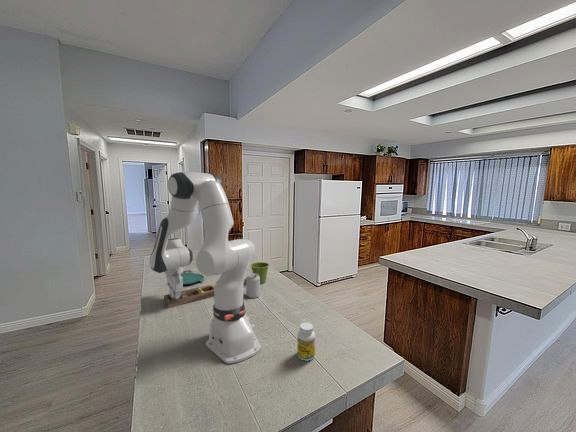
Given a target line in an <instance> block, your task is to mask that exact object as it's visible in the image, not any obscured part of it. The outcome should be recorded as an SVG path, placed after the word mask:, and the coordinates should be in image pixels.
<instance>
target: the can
mask: <svg viewBox="0 0 576 432" xmlns="http://www.w3.org/2000/svg"><path fill="white" fill-rule="evenodd" d="M246 275H247V277H245V279H246V281H245V287H246V289H245V290H246V291H245V294H246V296H247V297H248V298H249V299H256V298H258V297H259V296H260V294H261V283H260V277H259V275H258V274H256V273H253V272H252V273H251V272H250V273H249V274H246Z"/></svg>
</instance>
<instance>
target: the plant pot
mask: <svg viewBox="0 0 576 432" xmlns="http://www.w3.org/2000/svg"><path fill="white" fill-rule="evenodd" d="M249 267H251V272H252V273H256V274H258V275H259V277H260V284H266V282H267V274H268V270H269V267H270V263H268V262H263V261H259V262H252V263H250V265H249Z"/></svg>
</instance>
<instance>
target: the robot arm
mask: <svg viewBox="0 0 576 432" xmlns="http://www.w3.org/2000/svg"><path fill="white" fill-rule="evenodd" d="M167 187H168V188H167V189H168V192H169V193H170V195H171V199H170V200H171V201H170V209H169V212H168V213H167V215H166V217H164V218H163V219H161V221H160V224H159V227H158V231H157V233H156V234H157V235H156V238H155V242H154V247H153V250H152V252H151V254H150V258H149V266H150V269H151V270H152V271H153V272H156V273H158V274H161V273H164V275H166V280H167V282H168V284H169V286H171V287H172V289H173V290H174V292H175V298H176V299H177V298H179V294H180V292H182V291H184V285H183V282H182V277H181V276H180V275H181V273H182V274H183V271H184V267H187V266H190V265H191V264H192V262H193V260H194V259H193V257H194V255H193V251H192V250H191V248H189V247H187V246H185V245H184V244H183V241H182V238H180V237H179V238H178V237H174V238H170V237H171V235H173V234H174V233H175V232H178V231H179V230H181V229H182V230H183V228H186V227H189V226H190V225H191V224H193V223H194V222H195V220H196V217H197V212H198V206H199V210H200V214H201V217H202V222H203V227H204V240H203V244H202V247H201V248H200V250H199V251H198V253H197V254H196V258H195V265H196V267H197V271H199V273H200V274H201V275H203V276H206V277H210V276H211V277H212V276H218V275H220V276H219V278H218V279H217V280H216V282H215V284H214V297H213V300H214V302H213V306H212V307H213V308H212V312H213V313H212V315H213V317H212V319H211V321H210V323H209V334H208V335H209V337H208V339H207V340H206V341H205V347H206V348H207V349H209V350H210V351H211V352H212V353H213V354H215V355H216V356H217V357H218V358H219V359H220V360H222V361H223V362H224V363H225V364H235V363H239V362H240V363H241V362H243V361H245V360H248V359H249V358H252V357H253V356H255V355H256V354H258V353H259V352H260V351H261V349H262V346H261V343H260V342H259V340H258V338H257V336H256V335H255V332H254V331H256V325H255V324H253V323H252V324H251V322H250V320H251V319H250V317H249V316H248V315H247V313H246V311H247V310H246V305H245V301H244V283H245V279H246V275H247V272H248V269H249V267H250V265H251V264H252V261H253V260H254V259H255V256H256V255H257V254H256V253H257V252H256V246H255V245H254V242H253V241H251V240H250V239H247V238H238V239H234V240H233V239H231V240H229V232H230V231H231V229H232V228H233V227H234V225H235V223H234V218H233V214H232V210H231V207H230V203H229V200H228V197H227V195H226V192H225V190H224V188H223V181H222V179H221V177H220V176H219V175H217V174H216V173H212V172H210V173H209V172H208V173H206V172H198V171H190V172H189V171H186V172H181V171H180V172H175V173H173V174H171V175H170V176H169V179H168V182H167Z"/></svg>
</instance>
